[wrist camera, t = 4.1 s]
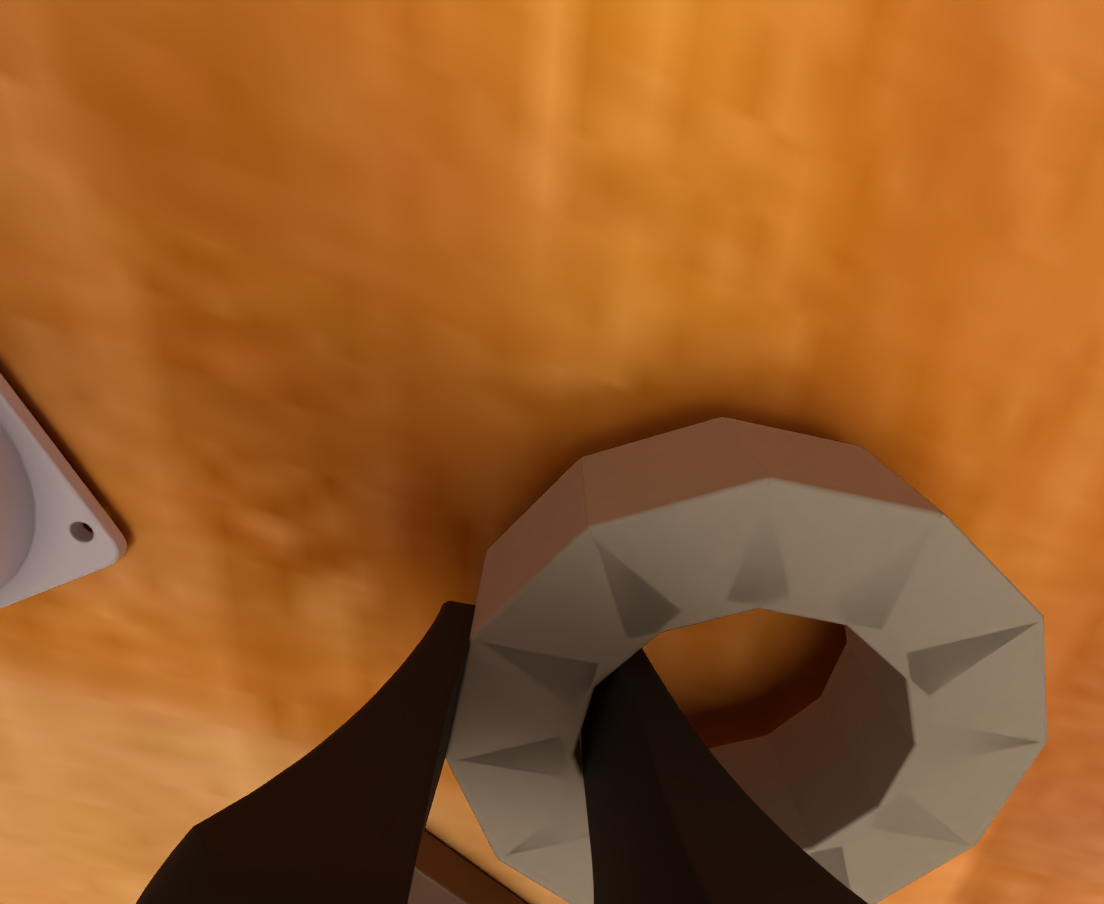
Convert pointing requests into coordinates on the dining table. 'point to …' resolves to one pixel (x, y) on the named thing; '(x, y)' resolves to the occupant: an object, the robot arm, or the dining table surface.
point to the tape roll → (737, 586)
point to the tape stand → (452, 879)
